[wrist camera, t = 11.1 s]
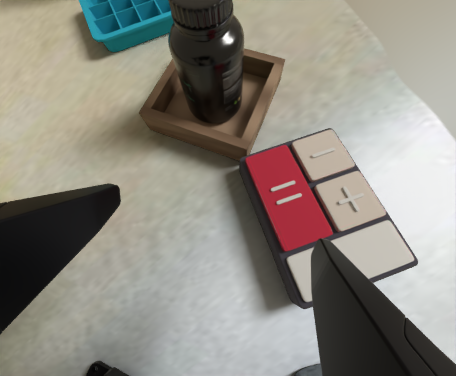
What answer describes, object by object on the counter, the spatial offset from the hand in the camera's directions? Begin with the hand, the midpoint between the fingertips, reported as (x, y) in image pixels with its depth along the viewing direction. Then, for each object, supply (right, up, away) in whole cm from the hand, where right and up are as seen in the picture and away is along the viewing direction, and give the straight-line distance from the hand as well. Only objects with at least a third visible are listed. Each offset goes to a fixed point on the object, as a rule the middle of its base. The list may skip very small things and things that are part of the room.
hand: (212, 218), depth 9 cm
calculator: (+10, -1, +14) cm, 17 cm away
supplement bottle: (-1, +12, +18) cm, 21 cm away
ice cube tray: (-11, +29, +25) cm, 40 cm away
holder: (-1, +12, +18) cm, 22 cm away
